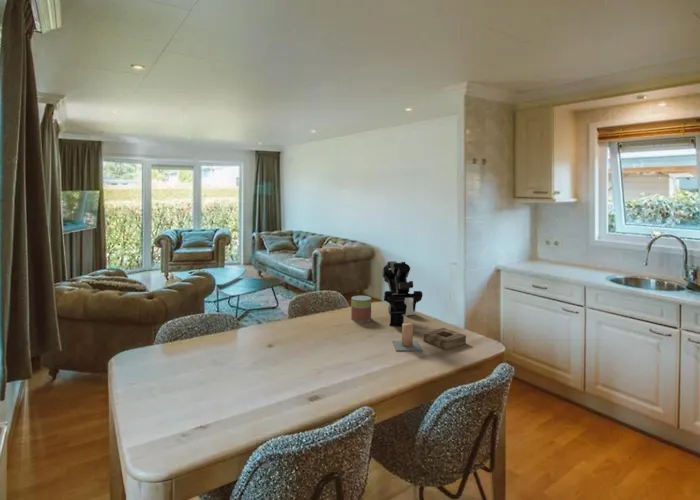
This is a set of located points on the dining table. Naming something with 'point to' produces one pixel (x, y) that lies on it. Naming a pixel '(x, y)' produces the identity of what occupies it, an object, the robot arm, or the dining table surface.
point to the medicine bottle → (409, 306)
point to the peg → (407, 334)
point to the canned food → (361, 308)
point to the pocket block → (444, 338)
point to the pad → (399, 347)
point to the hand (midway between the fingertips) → (404, 311)
